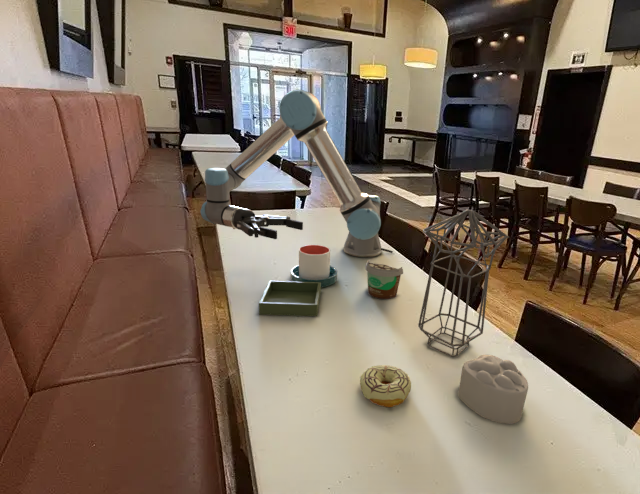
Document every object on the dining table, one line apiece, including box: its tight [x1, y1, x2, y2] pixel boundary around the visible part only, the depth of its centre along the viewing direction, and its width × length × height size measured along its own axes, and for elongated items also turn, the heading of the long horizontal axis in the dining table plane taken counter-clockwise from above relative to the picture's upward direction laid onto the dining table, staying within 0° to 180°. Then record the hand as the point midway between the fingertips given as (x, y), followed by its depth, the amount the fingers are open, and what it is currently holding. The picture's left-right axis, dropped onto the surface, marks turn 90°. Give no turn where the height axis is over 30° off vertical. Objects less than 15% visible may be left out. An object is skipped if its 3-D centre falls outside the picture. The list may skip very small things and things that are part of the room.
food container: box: [364, 259, 404, 300], centre depth 128 cm, size 12×6×10 cm, turn 68°
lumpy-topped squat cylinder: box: [457, 354, 529, 425], centre depth 84 cm, size 10×13×9 cm
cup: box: [298, 244, 331, 280], centre depth 135 cm, size 10×10×10 cm
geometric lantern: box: [417, 209, 510, 358], centre depth 99 cm, size 16×16×35 cm
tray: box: [258, 280, 322, 317], centre depth 120 cm, size 16×16×4 cm
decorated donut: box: [359, 364, 412, 408], centre depth 85 cm, size 10×11×4 cm
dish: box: [289, 264, 338, 288], centre depth 137 cm, size 15×15×3 cm
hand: (289, 230), depth 135 cm, fingers open, 13 cm apart
